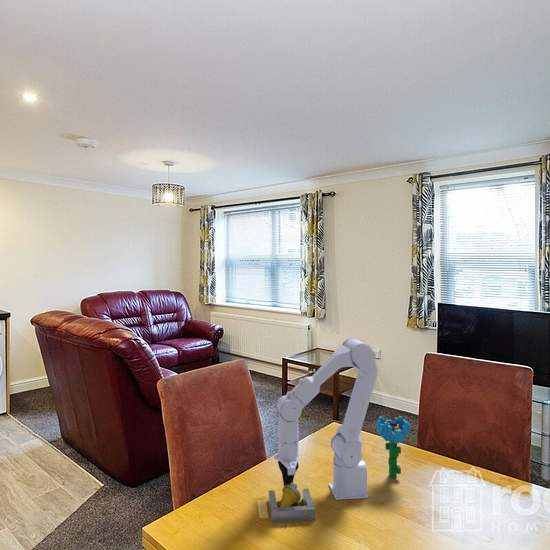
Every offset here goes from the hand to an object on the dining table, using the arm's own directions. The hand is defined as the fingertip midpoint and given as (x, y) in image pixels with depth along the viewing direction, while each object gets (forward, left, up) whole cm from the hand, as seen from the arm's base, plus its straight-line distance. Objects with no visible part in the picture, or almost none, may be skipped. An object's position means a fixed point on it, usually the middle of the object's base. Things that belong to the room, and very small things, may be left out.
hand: (288, 487), depth 113 cm
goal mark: (+7, +5, -3) cm, 9 cm away
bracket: (0, +5, -3) cm, 6 cm away
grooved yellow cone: (-3, 0, +1) cm, 3 cm away
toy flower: (-34, -8, -3) cm, 35 cm away
